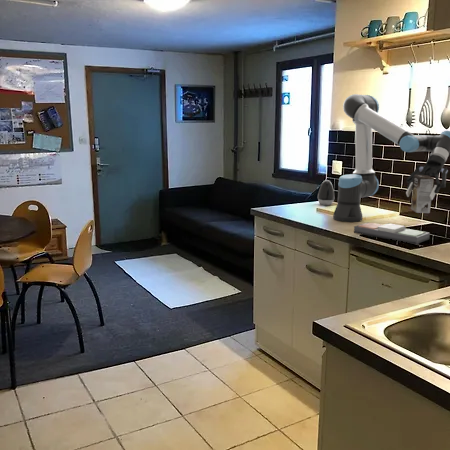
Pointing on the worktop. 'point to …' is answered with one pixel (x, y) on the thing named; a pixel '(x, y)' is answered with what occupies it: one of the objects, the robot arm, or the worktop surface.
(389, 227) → the key grey
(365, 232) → the keypad
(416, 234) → the key sage
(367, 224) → the key terracotta
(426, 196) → the coffee box
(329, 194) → the dark grey egg shape
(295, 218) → the worktop surface
